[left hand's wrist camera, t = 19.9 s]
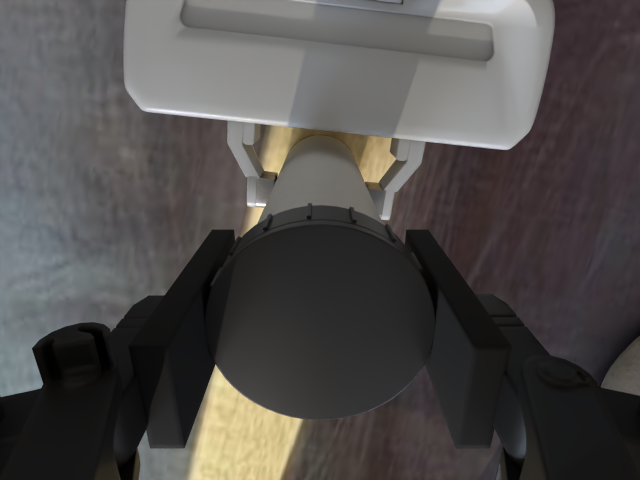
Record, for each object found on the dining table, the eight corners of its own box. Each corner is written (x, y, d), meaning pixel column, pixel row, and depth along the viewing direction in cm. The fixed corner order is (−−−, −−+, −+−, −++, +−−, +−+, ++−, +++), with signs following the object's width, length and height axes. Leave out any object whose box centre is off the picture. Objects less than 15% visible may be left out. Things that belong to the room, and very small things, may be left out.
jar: (371, 163, 28) (454, 299, 11) (328, 220, 30) (340, 419, 12) (310, 119, 27) (293, 191, 10) (270, 181, 29) (191, 339, 11)
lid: (240, 174, 10) (226, 190, 9) (457, 234, 11) (478, 259, 10) (200, 358, 13) (184, 395, 11) (383, 399, 13) (391, 440, 12)
